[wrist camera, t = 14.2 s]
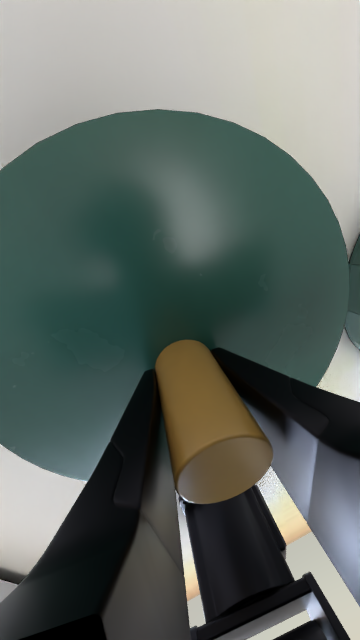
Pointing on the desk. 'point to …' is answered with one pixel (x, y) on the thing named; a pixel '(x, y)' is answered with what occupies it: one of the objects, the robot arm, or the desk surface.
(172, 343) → the tin lid
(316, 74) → the desk surface
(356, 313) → the tin
